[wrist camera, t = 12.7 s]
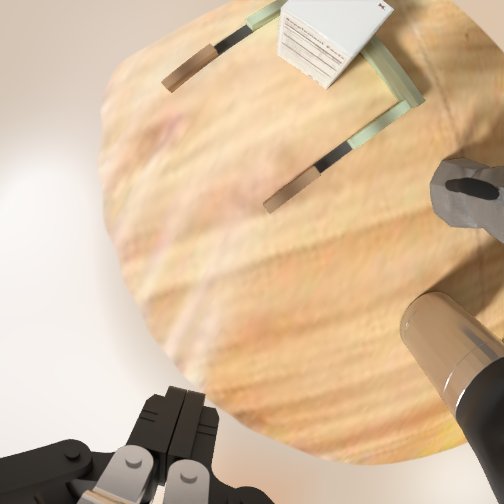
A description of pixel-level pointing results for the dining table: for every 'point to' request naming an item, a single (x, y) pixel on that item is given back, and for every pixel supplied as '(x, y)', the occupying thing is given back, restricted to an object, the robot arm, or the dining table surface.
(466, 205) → the coffeepot
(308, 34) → the supplement box
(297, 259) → the dining table surface
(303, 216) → the dining table surface
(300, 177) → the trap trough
